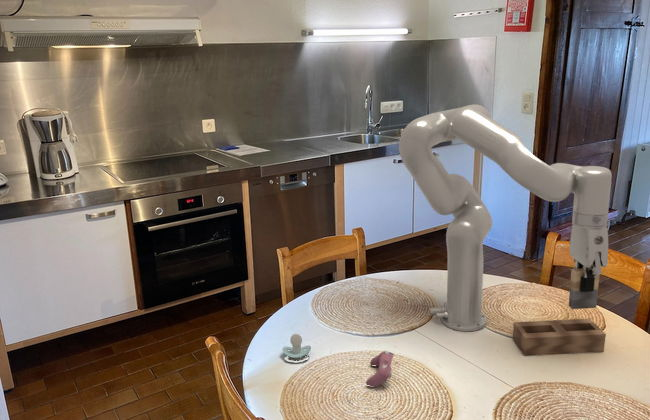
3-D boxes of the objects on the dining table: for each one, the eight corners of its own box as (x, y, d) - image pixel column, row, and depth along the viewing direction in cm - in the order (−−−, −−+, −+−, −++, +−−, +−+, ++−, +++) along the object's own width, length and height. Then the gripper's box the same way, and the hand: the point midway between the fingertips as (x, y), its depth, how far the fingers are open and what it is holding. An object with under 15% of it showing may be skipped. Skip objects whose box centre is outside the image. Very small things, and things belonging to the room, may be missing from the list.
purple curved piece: (381, 395, 121) (395, 373, 118) (364, 386, 121) (377, 363, 119) (385, 371, 130) (398, 349, 128) (368, 362, 130) (381, 341, 128)
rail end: (572, 309, 131) (575, 272, 128) (568, 305, 133) (571, 268, 130) (596, 307, 131) (599, 270, 128) (592, 304, 133) (595, 267, 130)
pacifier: (310, 364, 132) (311, 350, 138) (309, 343, 130) (310, 330, 136) (281, 365, 132) (283, 351, 138) (280, 344, 130) (282, 331, 136)
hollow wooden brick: (524, 355, 131) (525, 338, 130) (512, 339, 139) (513, 322, 137) (603, 351, 131) (605, 334, 130) (587, 335, 139) (589, 318, 137)
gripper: (624, 227, 117) (616, 302, 123) (588, 208, 133) (583, 275, 138) (591, 229, 117) (584, 304, 123) (559, 210, 133) (554, 277, 138)
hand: (583, 288), depth 130 cm, fingers closed on rail end, 2 cm apart
